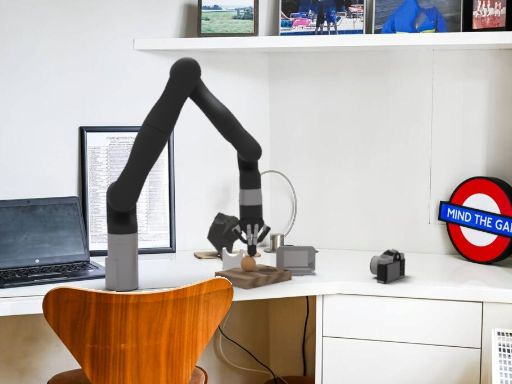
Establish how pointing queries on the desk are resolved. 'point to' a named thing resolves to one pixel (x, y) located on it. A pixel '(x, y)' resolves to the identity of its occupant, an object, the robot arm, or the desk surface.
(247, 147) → the robot arm
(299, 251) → the toaster
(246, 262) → the ball
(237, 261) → the bracket
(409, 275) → the desk surface
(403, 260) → the camera
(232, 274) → the brown wooden flat block
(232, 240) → the dark grey rock
